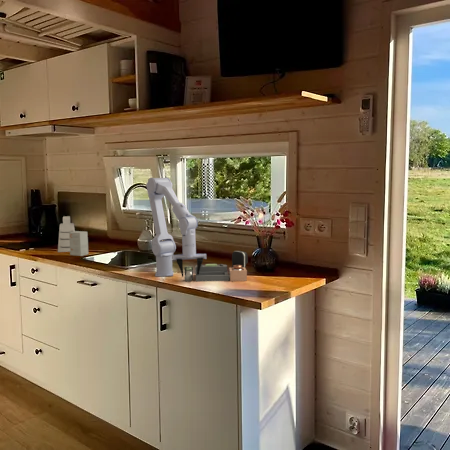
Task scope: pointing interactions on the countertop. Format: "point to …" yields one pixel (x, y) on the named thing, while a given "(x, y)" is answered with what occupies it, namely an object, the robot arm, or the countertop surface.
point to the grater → (65, 234)
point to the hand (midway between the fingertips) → (190, 275)
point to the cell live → (188, 273)
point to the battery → (239, 258)
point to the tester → (212, 273)
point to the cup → (238, 274)
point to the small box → (78, 243)
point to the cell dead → (237, 267)
